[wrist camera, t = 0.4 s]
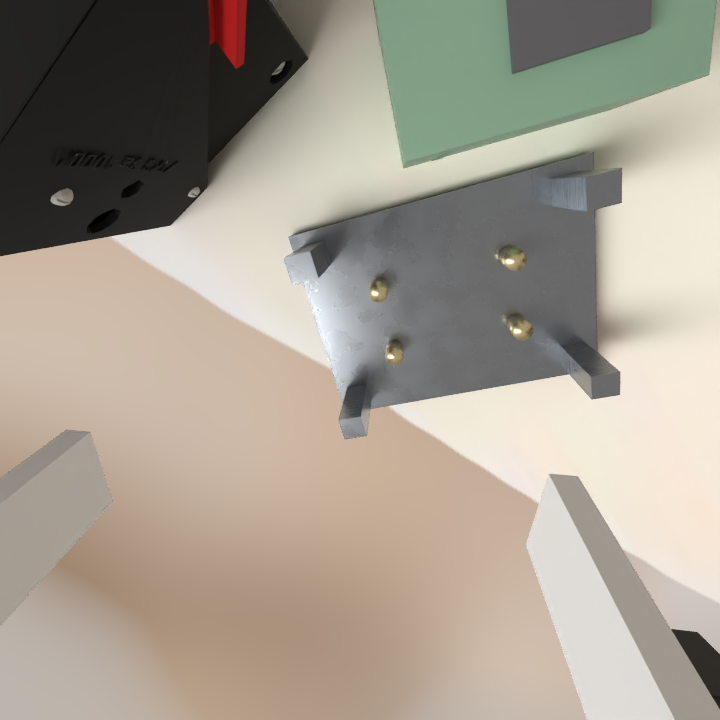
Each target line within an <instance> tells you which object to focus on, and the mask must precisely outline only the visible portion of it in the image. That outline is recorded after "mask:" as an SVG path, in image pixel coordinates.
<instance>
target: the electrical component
mask: <svg viewBox="0 0 720 720" xmlns="http://www.w3.org/2000/svg"><path fill="white" fill-rule="evenodd" d="M307 60H308V58H307V56H306V55H305V53H304V52H303V50H302V49H301V47H300V46H299V44H298V43H297V41H296V40H295V38H294V37H293V35H292V34H291V32H290V31H289V29H288V28H287V26H286V25H285V23H284V22H283V20H282V19H281V17H280V16H279V14H278V13H277V11H276V10H275V8H274V7H273V5H272V4H271V2H270V1H269V0H0V256H4V255H9V254H15V253H20V252H26V251H32V250H37V249H42V248H48V247H54V246H59V245H65V244H70V243H76V242H81V241H87V240H92V239H98V238H104V237H109V236H115V235H120V234H126V233H131V232H137V231H142V230H148V229H154V228H159V227H165V226H170V225H171V224H172V223H173V222H174V221H175V220H176V219H177V218H178V217H179V216H180V215H181V214H182V213H183V212H184V211H185V210H186V209H187V208H188V207H189V206H190V205H191V204H192V203H193V202H194V201H195V200H196V199H197V198H198V196H199V195H200V194H201V193H202V192H203V191H204V190H205V189H206V188H207V164H208V163H209V162H210V161H211V160H212V159H213V158H214V157H215V156H216V155H217V154H218V153H219V152H220V151H221V150H222V149H223V148H224V146H225V145H226V144H227V143H228V142H229V141H230V140H231V139H232V138H233V137H234V136H235V135H236V134H237V133H238V132H239V131H240V130H241V129H242V128H243V127H244V126H245V125H246V123H247V122H248V121H249V120H250V119H251V118H252V117H253V116H254V115H255V114H256V113H257V112H258V111H259V110H260V109H261V108H262V107H263V106H264V105H265V104H266V103H267V101H268V100H269V99H270V98H271V97H272V96H273V95H274V94H275V93H276V92H277V91H278V90H279V89H280V88H281V87H282V86H283V85H284V84H285V83H286V82H287V81H288V80H289V78H290V77H291V76H292V75H293V74H294V73H295V72H296V71H297V70H298V69H299V68H300V67H301V66H302V65H303V64H304V63H305V62H306V61H307Z"/></svg>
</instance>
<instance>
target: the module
mask: <svg viewBox="0 0 720 720" xmlns="http://www.w3.org/2000/svg"><path fill="white" fill-rule="evenodd" d="M373 3H374V9H375V16H376V23H377V29H378V35H379V40H380V46H381V51H382V56H383V62H384V67H385V73H386V78H387V83H388V89H389V94H390V100H391V105H392V110H393V116H394V121H395V127H396V132H397V137H398V143H399V148H400V154H401V159H402V164H403V168H407V167H410V166H414V165H417V164H421V163H424V162H428V161H431V160H432V161H434V160H437V159H441V158H443V157H446V156H449V155H453V154H456V153H460V152H463V151H467V150H470V149H474V148H477V147H481V146H484V145H488V144H491V143H495V142H499V141H502V140H506V139H509V138H513V137H516V136H520V135H523V134H527V133H530V132H534V131H537V130H541V129H544V128H548V127H552V126H555V125H559V124H562V123H566V122H569V121H573V120H576V119H580V118H583V117H587V116H590V115H594V114H597V113H601V112H604V111H608V110H611V109H614V108H617V107H619V106H622V105H625V104H628V103H631V102H634V101H636V100H639V99H642V98H645V97H648V96H651V95H654V94H656V93H659V92H662V91H665V90H668V89H671V88H673V87H676V86H679V85H682V84H685V83H688V82H690V81H693V80H696V79H699V78H702V77H705V76H707V75H709V72H710V61H711V51H712V40H713V30H714V19H715V9H716V0H373Z"/></svg>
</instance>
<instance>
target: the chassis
mask: <svg viewBox="0 0 720 720" xmlns="http://www.w3.org/2000/svg"><path fill="white" fill-rule="evenodd" d="M619 203H622V168H614V169H601V170H594V152H592V153H587V154H583V155H579V156H576V157H572V158H569V159H565V160H561V161H558V162H554V163H551V164H547V165H543V166H540V167H536V168H533V169H529V170H526V171H522V172H518V173H515V174H511V175H508V176H504V177H500V178H497V179H493V180H490V181H486V182H482V183H479V184H475V185H472V186H468V187H464V188H461V189H457V190H454V191H450V192H446V193H443V194H439V195H436V196H432V197H429V198H425V199H421V200H418V201H414V202H411V203H407V204H403V205H400V206H396V207H393V208H389V209H385V210H382V211H378V212H375V213H371V214H367V215H364V216H360V217H357V218H353V219H350V220H346V221H342V222H339V223H335V224H332V225H328V226H324V227H321V228H317V229H314V230H310V231H306V232H303V233H299V234H296V235H292V236H290V237H289V240H290V243H291V246H292V249H293V253H291V254H290V255H288V256H287V257H285V258H284V261H285V264H286V267H287V270H288V273H289V276H290V278H291V281H292V284H293V285H296V284H300V283H304V286H305V289H306V292H307V295H308V299H309V302H310V305H311V308H312V311H313V314H314V317H315V320H316V323H317V326H318V329H319V332H320V335H321V338H322V342H323V345H324V348H325V351H326V354H327V357H328V360H329V363H330V366H331V369H332V372H333V375H334V378H335V381H336V384H337V387H338V391H339V394H340V397H341V400H342V403H343V405H342V409H341V413H340V416H339V423H340V427H341V430H342V432H343V436H344V439H350V438H356V437H363V436H367V430H368V424H369V416H370V409H373V408H379V407H385V406H391V405H396V404H402V403H408V402H413V401H419V400H425V399H430V398H436V397H442V396H447V395H453V394H459V393H465V392H470V391H476V390H482V389H487V388H493V387H499V386H504V385H510V384H516V383H521V382H527V381H533V380H539V379H544V378H550V377H556V376H561V375H567V374H569V375H570V376H571V377H572V378H573V379H574V380H575V381H576V382H577V384H578V385H579V386H580V387H581V388H582V389H583V390H584V391H585V393H586V394H587V395H588V396H589V397H590V398H591V399H597V398H604V397H610V396H616V395H620V371H618V370H617V369H616V368H615V367H614V366H613V365H611V364H610V363H609V362H608V361H607V360H606V359H604V358H603V357H602V356H601V355H600V354H599V353H597V320H596V264H595V209H599V208H603V207H607V206H611V205H615V204H619Z"/></svg>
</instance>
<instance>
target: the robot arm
mask: <svg viewBox="0 0 720 720" xmlns="http://www.w3.org/2000/svg"><path fill="white" fill-rule="evenodd" d="M112 502H113V500H112V497H111V494H110V491H109V488H108V485H107V482H106V478H105V475H104V472H103V469H102V466H101V463H100V460H99V457H98V454H97V451H96V448H95V444H94V441H93V438H92V435H91V433H90V432H86V431H75V430H65V431H64V432H62V433H61V434H60V435H58V436H57V437H56V438H54V439H53V440H51V441H50V442H49V443H47V444H46V445H45V446H43V447H42V448H41V449H39V450H38V451H36V452H35V453H34V454H33V455H31V456H30V457H28V458H27V459H26V460H24V461H23V462H21V463H20V464H19V465H17V466H16V467H15V468H13V469H12V470H11V471H9V472H8V473H7V474H5V475H4V476H2V477H1V478H0V626H1V625H2V624H3V623H4V621H5V620H6V619H7V618H8V617H9V616H10V615H11V614H12V613H13V612H14V611H15V609H16V608H17V607H18V606H19V605H20V604H21V603H22V602H23V601H24V599H25V598H26V597H27V596H28V595H29V594H30V593H31V592H32V591H33V589H34V588H35V587H36V586H37V585H38V584H39V583H40V582H41V581H42V580H43V578H44V577H45V576H46V575H47V574H48V573H49V572H50V571H51V570H52V568H53V567H54V566H55V565H56V564H57V563H58V562H59V561H60V560H61V559H62V557H63V556H64V555H65V554H66V553H67V552H68V551H69V550H70V548H71V547H72V546H73V545H74V544H75V543H76V542H77V541H78V540H79V539H80V538H81V536H82V535H83V534H84V533H85V532H86V531H87V530H88V529H89V528H90V526H91V525H92V524H93V523H94V522H95V521H96V520H97V519H98V518H99V517H100V515H101V514H102V513H103V512H104V511H105V510H106V509H107V508H108V507H109V505H110V504H111V503H112ZM526 546H527V549H528V552H529V555H530V557H531V560H532V563H533V566H534V569H535V572H536V575H537V578H538V581H539V583H540V586H541V589H542V592H543V594H544V598H545V600H546V603H547V606H548V609H549V612H550V615H551V618H552V621H553V623H554V626H555V629H556V632H557V635H558V638H559V641H560V644H561V646H562V649H563V652H564V655H565V658H566V661H567V664H568V666H569V669H570V672H571V675H572V678H573V681H574V683H575V687H576V689H577V692H578V695H579V698H580V701H581V704H582V707H583V709H584V712H585V715H586V718H587V720H720V654H719V653H718V652H717V651H716V650H715V649H714V648H713V647H712V646H711V645H710V644H709V643H708V642H707V641H706V640H705V639H704V638H703V637H702V636H701V635H700V634H699V633H697V632H692V631H683V630H675V629H671V628H670V627H669V625H668V624H667V622H666V620H665V619H664V617H663V615H662V614H661V612H660V611H659V609H658V607H657V606H656V604H655V602H654V601H653V599H652V597H651V596H650V594H649V592H648V591H647V589H646V587H645V586H644V584H643V582H642V581H641V579H640V578H639V576H638V574H637V573H636V571H635V569H634V568H633V566H632V564H631V563H630V561H629V559H628V558H627V556H626V555H625V553H624V551H623V550H622V548H621V546H620V545H619V543H618V541H617V540H616V538H615V536H614V535H613V533H612V531H611V530H610V528H609V527H608V525H607V523H606V522H605V520H604V518H603V517H602V515H601V513H600V512H599V510H598V508H597V507H596V505H595V504H594V502H593V500H592V499H591V497H590V495H589V494H588V492H587V490H586V489H585V487H584V485H583V484H582V482H581V481H580V479H579V477H578V476H568V475H557V474H548V477H547V481H546V484H545V487H544V490H543V493H542V496H541V499H540V503H539V506H538V509H537V512H536V515H535V519H534V522H533V525H532V528H531V531H530V534H529V537H528V540H527V544H526Z"/></svg>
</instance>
